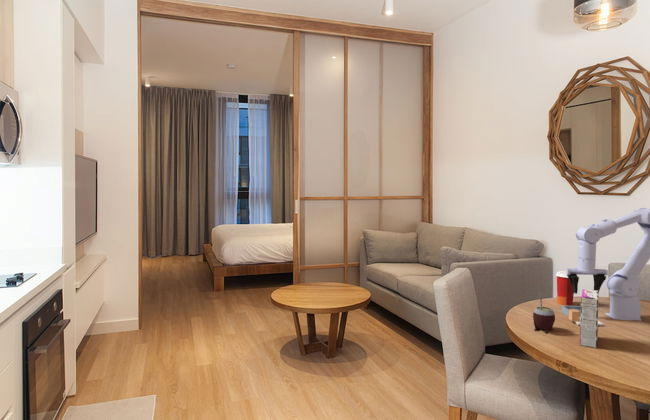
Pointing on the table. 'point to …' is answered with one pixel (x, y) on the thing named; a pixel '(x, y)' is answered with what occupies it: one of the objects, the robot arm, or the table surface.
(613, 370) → the table surface
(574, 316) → the lid
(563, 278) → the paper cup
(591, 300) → the candy bar box
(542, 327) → the mate gourd
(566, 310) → the tub
